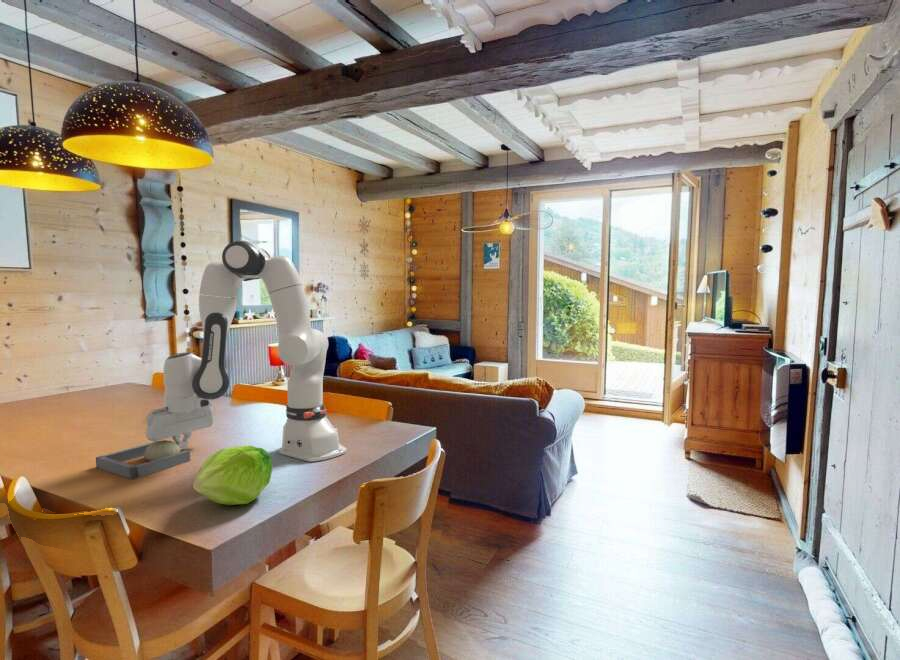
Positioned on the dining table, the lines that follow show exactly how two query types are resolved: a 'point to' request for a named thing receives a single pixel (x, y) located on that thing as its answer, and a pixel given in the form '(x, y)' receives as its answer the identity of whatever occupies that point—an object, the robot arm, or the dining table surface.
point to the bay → (116, 465)
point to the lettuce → (234, 475)
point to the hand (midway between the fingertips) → (182, 447)
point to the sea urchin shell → (161, 449)
